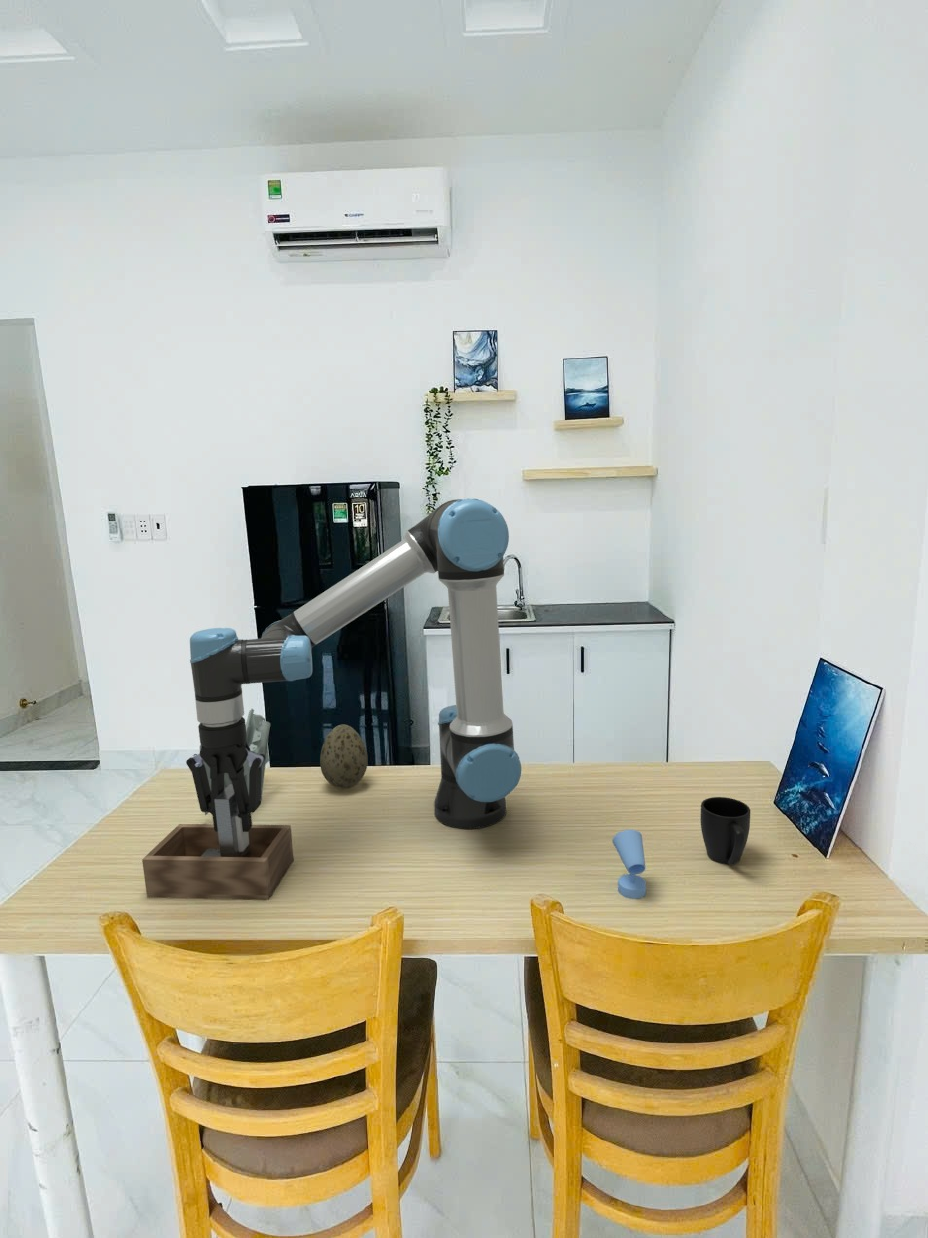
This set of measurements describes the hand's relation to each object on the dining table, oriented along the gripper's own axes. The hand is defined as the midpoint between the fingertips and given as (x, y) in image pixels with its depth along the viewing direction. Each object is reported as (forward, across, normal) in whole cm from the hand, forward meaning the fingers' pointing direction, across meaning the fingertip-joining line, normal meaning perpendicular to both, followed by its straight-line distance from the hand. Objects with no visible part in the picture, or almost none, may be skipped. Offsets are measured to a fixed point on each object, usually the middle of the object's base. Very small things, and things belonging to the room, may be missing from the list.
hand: (235, 847), depth 117 cm
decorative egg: (+6, -9, -38) cm, 40 cm away
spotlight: (+6, -68, +1) cm, 68 cm away
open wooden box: (+6, +3, 0) cm, 7 cm away
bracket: (+6, +11, -27) cm, 30 cm away
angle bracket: (+4, +3, 0) cm, 4 cm away
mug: (+6, -86, -8) cm, 87 cm away
